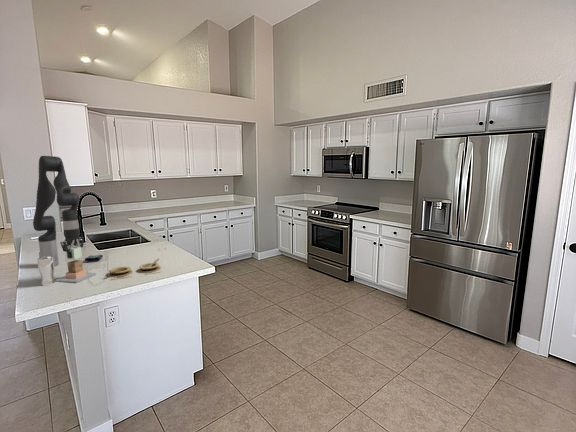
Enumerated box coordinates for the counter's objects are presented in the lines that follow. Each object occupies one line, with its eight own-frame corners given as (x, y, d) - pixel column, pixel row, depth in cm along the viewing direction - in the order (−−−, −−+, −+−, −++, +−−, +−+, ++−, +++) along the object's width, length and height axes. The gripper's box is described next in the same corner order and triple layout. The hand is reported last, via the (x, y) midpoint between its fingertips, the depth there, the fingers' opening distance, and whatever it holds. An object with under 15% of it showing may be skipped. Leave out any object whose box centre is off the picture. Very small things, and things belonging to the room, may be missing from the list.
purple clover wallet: (84, 257, 212) (89, 254, 222) (84, 262, 212) (89, 259, 222) (99, 256, 214) (103, 253, 225) (99, 261, 215) (104, 257, 225)
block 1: (67, 259, 179) (66, 249, 178) (74, 256, 184) (73, 246, 183) (74, 259, 178) (73, 249, 177) (81, 257, 183) (80, 247, 182)
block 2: (68, 272, 180) (67, 262, 179) (75, 269, 185) (74, 260, 184) (75, 273, 179) (74, 263, 178) (83, 270, 184) (82, 260, 183)
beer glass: (59, 281, 177) (56, 256, 175) (50, 285, 170) (47, 259, 168) (46, 281, 177) (43, 256, 174) (37, 286, 170) (33, 259, 168)
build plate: (55, 281, 177) (54, 274, 176) (76, 273, 191) (75, 267, 190) (76, 283, 174) (75, 276, 174) (96, 274, 188) (95, 268, 187)
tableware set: (159, 265, 209) (158, 256, 208) (162, 273, 192) (162, 264, 191) (108, 272, 195) (107, 262, 195) (107, 281, 178) (106, 271, 177)
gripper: (76, 225, 186) (79, 253, 188) (54, 230, 172) (57, 259, 174) (86, 225, 184) (89, 253, 187) (65, 230, 170) (69, 260, 173)
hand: (74, 256), depth 181 cm, fingers closed on block 1, 5 cm apart
